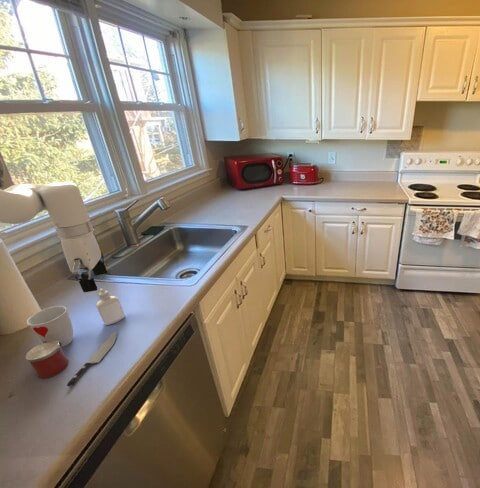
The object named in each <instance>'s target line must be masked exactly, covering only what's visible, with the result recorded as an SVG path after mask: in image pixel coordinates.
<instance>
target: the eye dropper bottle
mask: <svg viewBox="0 0 480 488" xmlns="http://www.w3.org/2000/svg"><path fill="white" fill-rule="evenodd" d="M99 290H100V291H99V293H98V295H97V296H98V297H99V299H100V300H98V301H97V303H96V304H95V306H96V310H97V312H98V315H99V316H100V318H101V321H102V323H103V324H104V325H105V326H109V325H113V324H116V323H117V322H120V321H121V320H123V319H124V318H125V317H126V314H125V312H124V310H123V307H122V304H121V302H120V299H119V298H118V296H116V295H110V293H109V291H108V290H105V289H104V288H100V289H99Z"/></svg>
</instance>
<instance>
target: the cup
mask: <svg viewBox="0 0 480 488" xmlns="http://www.w3.org/2000/svg"><path fill="white" fill-rule="evenodd" d="M26 324H27V325H28V327H29V328H30V329H31V331H32V332H33V333H34V335H35V336H36V337H37V339H39V340H40V341H41V342H42V343H45V342H48V341H57V342H59V344H60V347H61V348H64V347H66V346H68V345H69V344H70V343H72V342H73V340H74V328H73V323H72V318H71V317H70V314H69V312H68V309H67V307H66V306H64V305H55V306H50V307H46V308H44V309H42V310H39V311H37V312H35V313H34V314H32V315H31V316H29V318H28V319H27V320H26Z"/></svg>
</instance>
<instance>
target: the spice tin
mask: <svg viewBox="0 0 480 488" xmlns="http://www.w3.org/2000/svg"><path fill="white" fill-rule="evenodd" d="M25 360H27V361H28V362H29V365H31V367H32V369H33V370H34V372H35V373H36V374H37V376H38V378H40V379H49V378H52V377H54V376H56V375H58V374H60V373H62V372H63V371H64V370H65V369H66V368H67V367H68V366H69V359H68V357H67V356H66V354H65V353H64V351H63V348H62V347H60V344H59V342H57V341H48V342H45V343H43V342H42V343H40V344H38V345H35V346H34V347H32V348H31V349H30V350H29V351H28V352H27V353H26V355H25Z"/></svg>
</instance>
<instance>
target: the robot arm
mask: <svg viewBox="0 0 480 488" xmlns="http://www.w3.org/2000/svg"><path fill="white" fill-rule="evenodd" d="M44 211H47V213H48V215H49V218H50V220H51V222H52V225H53V227H54V229H55V232H56V234H57V236H58V239H60V243H61V247H62V251H63V252H62V253H63V255H64V258H65V259H66V260H65V261H66V263H67V266H68V267H69V271H70V273H72V275H73V276H74V278H75V279H76V281H77V282H78V283H79V285H80V288H81V290H82V292H83V293H90V292H96V291H97V290H98V285H97V284H96V281H95V278H94V277H92V272H93V274H94V276H100V275H106V274H108V270H107V268H106V267H107V266H106V265H105V262H104V259H103V258H104V257H102V251H101V248H100V246H99V243H98V241H97V239H96V237H95V234H94V231H95V229H94V227H93V224H92V220H91V219H90V216H89V213H88V210H87V207H86V205H85V202H84V199H83V197H82V193H81V191H80V189H79V186H78V185H77V184H76V183H74V182H71V181H57V182H50V183H17V184H13V185H10V186H9V187H7V188H5V189H0V223H1V224H7V225H8V224H9V225H21V224H25V223H29V222H30V221H31V220H33V219H34V218H35V217H37V215H38V214H40V213H42V212H44ZM85 272H86V274H85Z"/></svg>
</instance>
